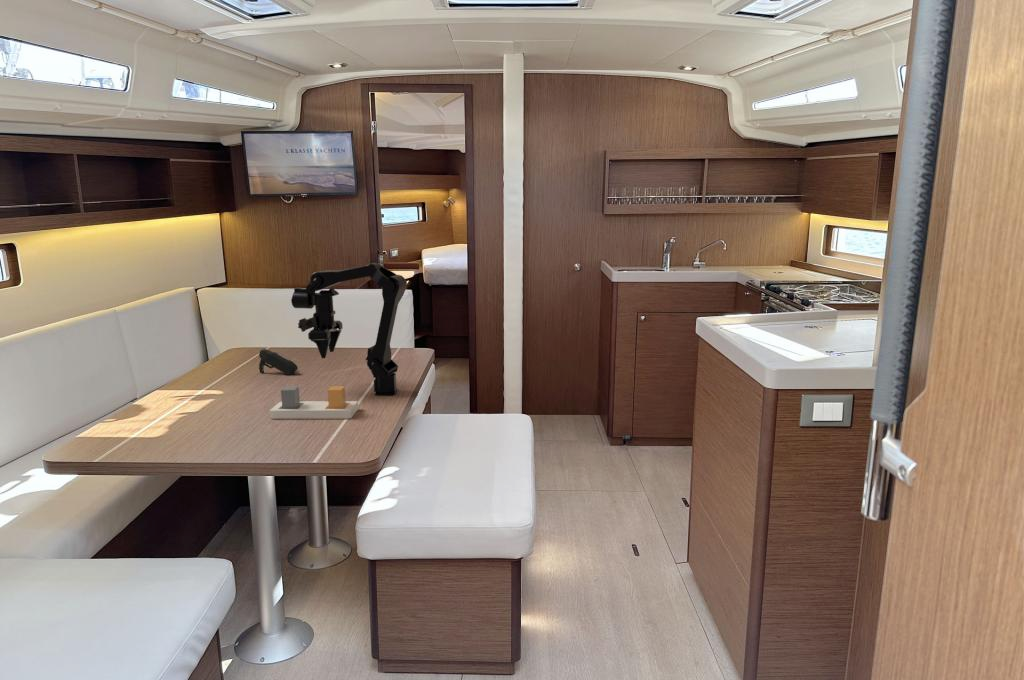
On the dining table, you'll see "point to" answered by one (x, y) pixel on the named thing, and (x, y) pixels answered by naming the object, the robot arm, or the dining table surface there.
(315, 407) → the white slotted frame
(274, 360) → the gun
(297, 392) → the gray plug
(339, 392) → the orange plug
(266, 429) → the dining table surface
